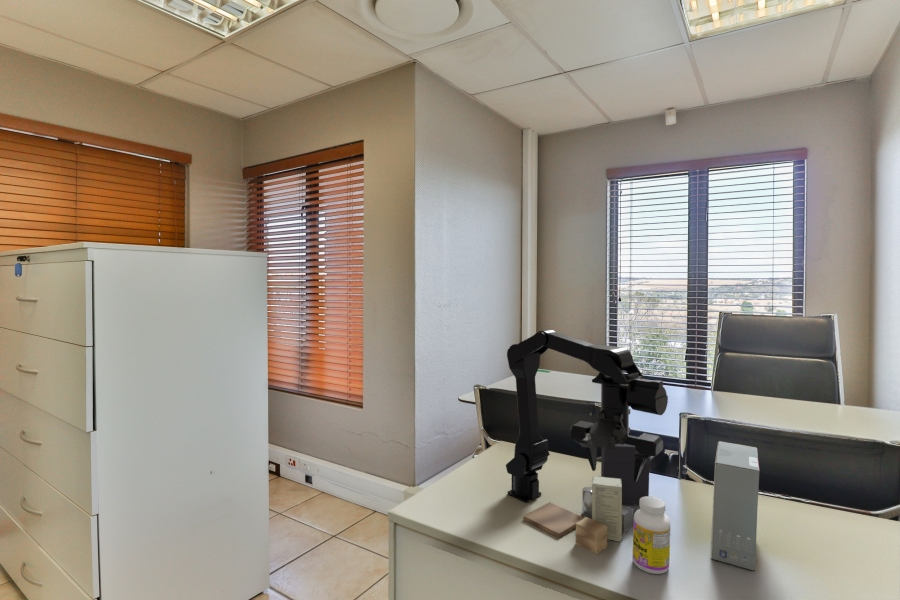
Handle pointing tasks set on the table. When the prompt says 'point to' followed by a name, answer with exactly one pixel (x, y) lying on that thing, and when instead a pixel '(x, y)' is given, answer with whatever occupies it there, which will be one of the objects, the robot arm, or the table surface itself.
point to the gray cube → (627, 518)
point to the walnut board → (553, 519)
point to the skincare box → (608, 505)
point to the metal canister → (587, 502)
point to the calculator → (626, 472)
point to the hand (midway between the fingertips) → (614, 475)
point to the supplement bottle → (651, 536)
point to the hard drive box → (735, 505)
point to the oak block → (591, 535)
